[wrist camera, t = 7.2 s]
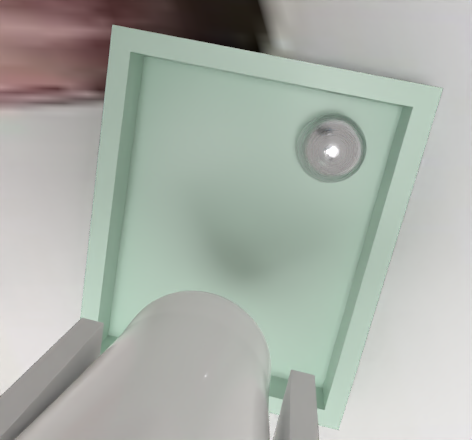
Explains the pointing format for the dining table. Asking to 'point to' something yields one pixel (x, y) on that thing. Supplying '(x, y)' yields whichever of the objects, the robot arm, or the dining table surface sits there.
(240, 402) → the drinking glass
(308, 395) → the robot arm
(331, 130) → the shiny metal ball
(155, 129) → the tray
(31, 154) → the dining table surface
